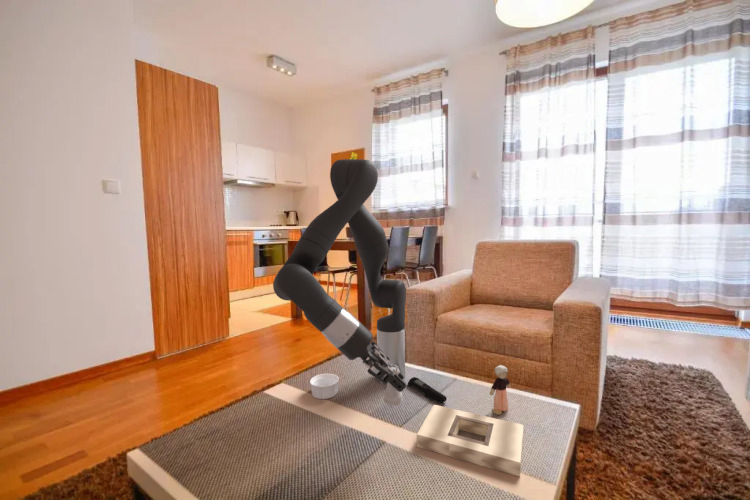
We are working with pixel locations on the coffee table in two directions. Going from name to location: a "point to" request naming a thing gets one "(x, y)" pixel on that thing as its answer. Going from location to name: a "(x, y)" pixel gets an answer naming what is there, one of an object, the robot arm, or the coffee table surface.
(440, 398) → the electric trimmer
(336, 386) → the ramekin
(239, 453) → the coffee table surface
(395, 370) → the rook chess piece
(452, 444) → the socket board
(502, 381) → the grandmother figurine
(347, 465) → the coffee table surface
